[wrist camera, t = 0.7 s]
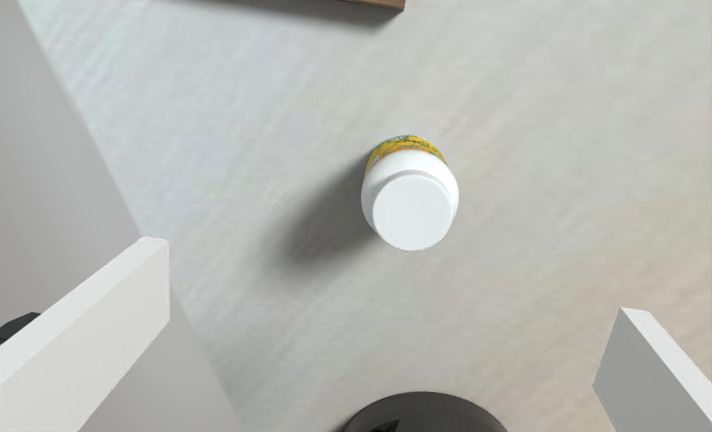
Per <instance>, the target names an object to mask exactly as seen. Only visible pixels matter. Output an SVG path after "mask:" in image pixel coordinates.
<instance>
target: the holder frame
mask: <svg viewBox="0 0 712 432" xmlns="http://www.w3.org/2000/svg"><path fill="white" fill-rule="evenodd" d="M340 1H346V2H352V3H359V4H365V5H371V6H377V7H384V8H390V9H396V10H402V11H404V6H405V1H406V0H340Z"/></svg>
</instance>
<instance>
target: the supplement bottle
mask: <svg viewBox="0 0 712 432" xmlns="http://www.w3.org/2000/svg"><path fill="white" fill-rule="evenodd" d="M458 202H459V192H458V186H457V182H456V179H455V177H454V175H453V173H452V172H451V170H450V168H449V167H448V165H447V163H446V162H445V160H444V158H443V156H442V155H441V153H440V152H439V150H438V149H437V148H436V147H435V146H434V145H433V144H432V143H431V142H429V141H428V140H426V139H424V138H422V137H419V136H415V135H401V136H396V137H393V138H390V139H387V140H385V141H384V142H382V143H381V144H380V145H378V146H377V147H376V148H375V150H374V151H373V152H372V154H371V156H370V158H369V160H368V163H367V166H366V170H365V175H364V180H363V185H362V191H361V206H362V210H363V213H364V216H365V218H366V220H367V222H368V223H369V225H370V226H371V228H372V229H373V230H374V231H375V232H376V233H377V234H379V236H380V237H381V238H382V239H383V240H384V241H385V242H386V243H388V244H389V245H391V246H392V247H394V248H397V249H400V250H403V251H420V250H424V249H427V248H430V247H432V246H433V245H435V244H436V243H438V242H439V241H440V240H441V239H442V238H443V237H444V236H445V234H446V233H447V231H448V230H449V228H450V225H451V222H452V221H453V219H454V217H455V214H456V212H457V208H458Z"/></svg>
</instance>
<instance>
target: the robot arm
mask: <svg viewBox="0 0 712 432" xmlns="http://www.w3.org/2000/svg"><path fill="white" fill-rule="evenodd" d="M169 321H170V293H169V240H166V239H159V238H152V237H146V236H143V237H142V238H140V239H139V240H138V241H136V242H135V243H134V244H133V245H131V246H130V247H129V248H127V249H126V250H125V251H123V252H122V253H121V254H119V255H118V256H117V257H116V258H114V259H113V260H112V261H110V262H109V263H108V264H106V265H105V266H104V267H102V268H101V269H100V270H99V271H97V272H96V273H95V274H93V275H92V276H91V277H89V278H88V279H87V280H86V281H84V282H83V283H82V284H80V285H79V286H78V287H76V288H75V289H74V290H72V291H71V292H70V293H68V294H67V295H66V296H64V297H63V298H62V299H61V300H59V301H58V302H57V303H55V304H54V305H53V306H51V307H50V308H49V309H48V310H46V311H45V312H44V313H42V314H41V313H34V312H31V313H28V314H26V315H24V316H22V317H19V318H17V319H14V320H12V321H10V322H7V323H6V324H4V325H3V326H2V327H1V328H0V432H78V430H79V429H80V428H81V427H82V426H83V424H84V423H85V422H86V421H87V420H88V418H89V417H90V416H91V415H92V414H93V412H94V411H95V410H96V409H97V407H98V406H99V405H100V404H101V403H102V401H103V400H104V399H105V398H106V397H107V395H108V394H109V393H110V392H111V391H112V389H113V388H114V387H115V386H116V385H117V383H118V382H119V381H120V380H121V378H122V377H123V376H124V375H125V374H126V372H127V371H128V370H129V369H130V368H131V366H132V365H133V364H134V363H135V362H136V360H137V359H138V358H139V357H140V355H141V354H142V353H143V352H144V351H145V350H146V348H147V347H148V346H149V345H150V343H151V342H152V341H153V340H154V339H155V337H156V336H157V335H158V334H159V333H160V331H161V330H162V329H163V328H164V326H165V325H166V324H167V323H168V322H169ZM593 388H594V390H595V392H596V394H597V396H598V397H599V399H600V401H601V403H602V405H603V407H604V409H605V411H606V412H607V414H608V416H609V418H610V420H611V422H612V424H613V425H614V427H615V429H616V431H617V432H712V383H711V382H710V381H709V380H708V379H707V378H706V377H705V375H704V374H703V373H702V372H701V371H700V370H699V369H698V368H697V366H696V365H695V364H694V363H693V362H692V361H691V360H690V358H689V357H688V356H687V355H686V354H685V353H684V352H683V351H682V349H681V348H680V347H679V346H678V345H677V344H676V343H675V341H674V340H673V339H672V338H671V337H670V336H669V335H668V334H667V332H666V331H665V330H664V329H663V328H662V327H661V326H660V324H659V323H658V322H657V321H656V320H655V319H654V318H653V317H652V315H651V314H650V313H649V312H648V311H642V310H636V309H629V308H622V307H620V310H619V312H618V315H617V318H616V321H615V324H614V327H613V329H612V332H611V335H610V338H609V341H608V344H607V346H606V349H605V352H604V355H603V358H602V361H601V363H600V366H599V369H598V372H597V375H596V378H595V381H594V383H593ZM343 432H507V430H506V429H505V428H504V426H503V425H502V424H501V423H500V422H499V421H498V420H497V419H496V418H495V417H494V416H492V415H491V414H490V413H489V412H487V411H486V410H484V409H483V408H481V407H479V406H478V405H476V404H474V403H472V402H470V401H467V400H465V399H462V398H459V397H456V396H452V395H448V394H443V393H435V392H413V393H405V394H400V395H395V396H392V397H389V398H386V399H383V400H381V401H378V402H376V403H374V404H372V405H371V406H369V407H367V408H366V409H364V410H363V411H361V412H360V413H359V414H358V415H356V416H355V417H354V418H353V419H352V420H351V421H350V422H349V423H348V425H347V426H346V427H345V429H344V430H343Z"/></svg>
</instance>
